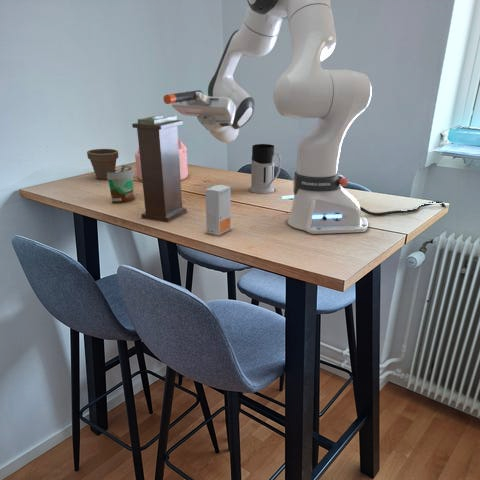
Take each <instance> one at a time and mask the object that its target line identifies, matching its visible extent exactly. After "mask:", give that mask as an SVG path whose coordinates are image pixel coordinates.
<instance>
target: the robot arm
mask: <svg viewBox="0 0 480 480" xmlns="http://www.w3.org/2000/svg"><path fill="white" fill-rule="evenodd" d="M247 4H248V5H247V7H246V11H245V15H244V17H243V21H242V24H241V26H240V27H239V29H235V31H233V33H232V34H231V35H230V37H229V39H228V41H227V42H226V46H225V48H224V50H223V53H222V55H221V57H220V60H219V63H218V65H217V68H216V70H215V73H214V74H213V75H212V77H211V79H210V80H209V83H208V86H207V95H206V94H204V93H203V92H202V93H203V94H202V93H201V92H196V95H195V98H197V99H195V100H189V101H183V102H177V103H172V104H171V107H172V108H173V109H174V110H176V111H177V112H178V113H179V114H181V115H184V116H190V117H196V118H197V121H198V122H199V123H200V125H201V126H202V127H204V129H206V130H207V131H208V132H209V133H210V134H211V136H213V137H214V138H215V139H217V141H219V142H221V143H225V144H226V143H231V142H233V141H235V140H236V139H237V137H238V136H239V133H240V130H241V128H242V127H244V126H245V125H246V124H247V123H248V122H249V121H250V120H251V119H252V117H253V115H254V113H255V112H254V111H255V99H254V98H253V97H252V96H251V95H250V94H249V93H248V92H247V91H246V90H245V89H243V88H242V86H240V85H239V84H238V83H237V82H236V80H235V78H234V73H235V70H236V68H237V66H238V63H239V62H240V59H241V57H242V56H245V57H249V58H261V57H264V56H266V55H268V54H269V53H271V52H272V50H273V49H274V47H275V45H276V42H277V40H278V37H279V34H280V31H281V28H282V24H283V20H287V22H288V30H289V35H290V43H291V58H290V62H289V65H288V67H287V68H286V69H285V71H284V72H283V73H282V74H281V75H280V76H279V77H278V79H277V80H276V82H275V84H274V87H273V93H272V100H273V104H274V107H275V109H276V111H277V112H278V114H280V116H282V117H287V118H291V119H298V120H306V119H318V121H317V123H316V125H315V127H313V129H312V130H311V131H310V132H309V133H307V134H305V135H304V136H303V137H302V138H301V139H300V140H299V142H298V145H297V154H296V155H297V156H296V169H295V172H294V176H293V183H292V185H293V186H292V187H293V188H292V189H293V194H292V195H283V196H281V199H282V200H284V199H285V200H286V199H292V205H291V209H290V212H289V216H288V219H287V224H288V225H289V226H290V227H292V228H294V229H298V230H301V231H304V232H306V233H309V234H312V235H322V234H323V235H324V234H327V235H328V234H347V233H350V234H351V233H364V232H366V231H367V230H368V228H369V224H368V220H367V218H365V217H364V216H363V215H362V213H365V214H366V215H369V216H377V217H378V216H380V217H381V216H387V215H388V216H389V215H394V214H395V215H396V214H409V213H414V212H416V211H418V210H420V209H421V208H423V207H429V206H433V205H434V204H425V203H423V204H424V205H421V206H419V207H418V208H417V209H414V208H412V209H413V210H409V209H406V210H407V211H401V210H402V209H399V210H389V211H382V212H381V211H380V212H374V211H370V210H368V209H365V208H364V207H361V206H360V203H359V201H358V200H357V199H356V198H355V197H354V196H353V195H352V194H350V192H349V191H347V190H346V189H345V188H344V187H346V185H348V180H347V178H346V177H345V176H344V175H342V174H341V173H339V172H338V168H339V161H340V160H339V159H340V154H341V149H342V144H343V140H344V138H345V136H346V134H347V131H348V129H349V128H350V126H351V125H352V124H353V122H354V121H355V119H357V117H359V116H360V115H361V114H362V113H363V112H364V111H366V109H367V108H368V107H369V104H370V102H371V99H372V92H373V91H372V90H373V89H372V83H371V80H370V79H369V78H370V77H369V76H368V75H367V74H366V73H364V72H360V71H358V70H352V69H326V68H325V69H324V68H323V67H322V62H324V61H325V60H326V59H327V58H329V57H330V56H331V55H332V54H333V52H334V50H335V49H336V46H337V33H336V27H335V20H334V14H333V9H332V4H331V0H247ZM189 91H190V90H189ZM189 91H188V90H185V91H184V92H189ZM431 202H432V203H433V202H436V203H442V204H439V205H440V207H442V208H446V204H445V203H444V202H443V201H439V200H434V201H428V203H431ZM426 303H430V300H426Z"/></svg>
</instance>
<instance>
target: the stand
mask: <svg viewBox="0 0 480 480" xmlns="http://www.w3.org/2000/svg"><path fill="white" fill-rule="evenodd" d="M131 125H132V129H136V132H137V140H138V149H139V152H140V162H141V172H142V180H141V182H142V190H143V191H142V192H143V201H144V209H145V211H144V212H143V213H141V219H145V220H152V221H157V222H165V223H169V222H171V221H172V220H174V219H176V218H179V217H180V216H181V215H183V214H185V213H187V209H188V208H187V207H183V198H182V197H183V194H182V180H181V178H180V162H179V145H178V140H179V132H178V126H182V125H184V120H183V119H182V120H179V119H178V116H177V115H169V116H165V117H164V114H158V115H153V116H146V117H142V118H137V122H135V123H132V124H131Z"/></svg>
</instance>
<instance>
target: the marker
mask: <svg viewBox="0 0 480 480" xmlns="http://www.w3.org/2000/svg"><path fill="white" fill-rule="evenodd" d="M196 92H201V93H202V94H204V93H203V91H202V90H200V89H198V90H189V92H185V91H183V92H176V93H168V94H165V95H164V96H163V102H164V104H166V105H172V103H177V102H183V101H189V100H195V99H197V98H195V95H196Z"/></svg>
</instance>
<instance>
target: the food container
mask: <svg viewBox="0 0 480 480" xmlns="http://www.w3.org/2000/svg"><path fill="white" fill-rule="evenodd" d="M134 176H135V171H134V169H133V166H130V165H127V164H121V168H119V169H115V171H114V172H113V173H109V172H107V180H108V186H109V191H110V197H111V202H112V204H125V203H130V202H132V201H134Z"/></svg>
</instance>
